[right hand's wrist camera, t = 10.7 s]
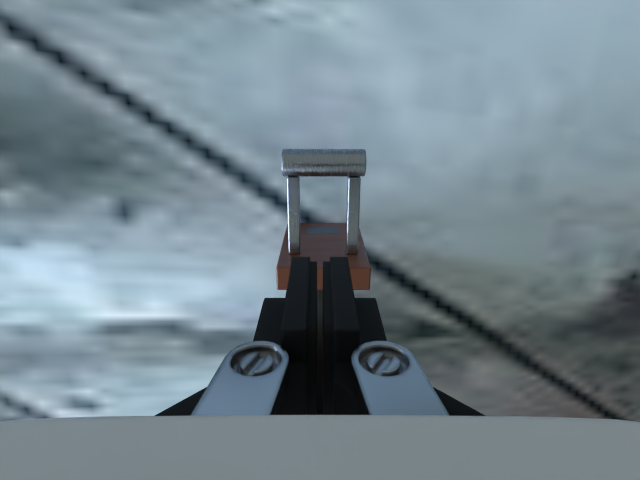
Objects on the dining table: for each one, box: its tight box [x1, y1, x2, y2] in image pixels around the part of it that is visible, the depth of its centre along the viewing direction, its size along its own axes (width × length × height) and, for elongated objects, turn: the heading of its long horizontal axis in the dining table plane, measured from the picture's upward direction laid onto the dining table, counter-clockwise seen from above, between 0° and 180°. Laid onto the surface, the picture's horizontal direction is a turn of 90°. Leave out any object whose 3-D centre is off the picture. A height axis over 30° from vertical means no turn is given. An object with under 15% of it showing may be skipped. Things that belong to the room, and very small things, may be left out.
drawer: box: [276, 149, 371, 415], centre depth 25 cm, size 21×5×7 cm, turn 0°
